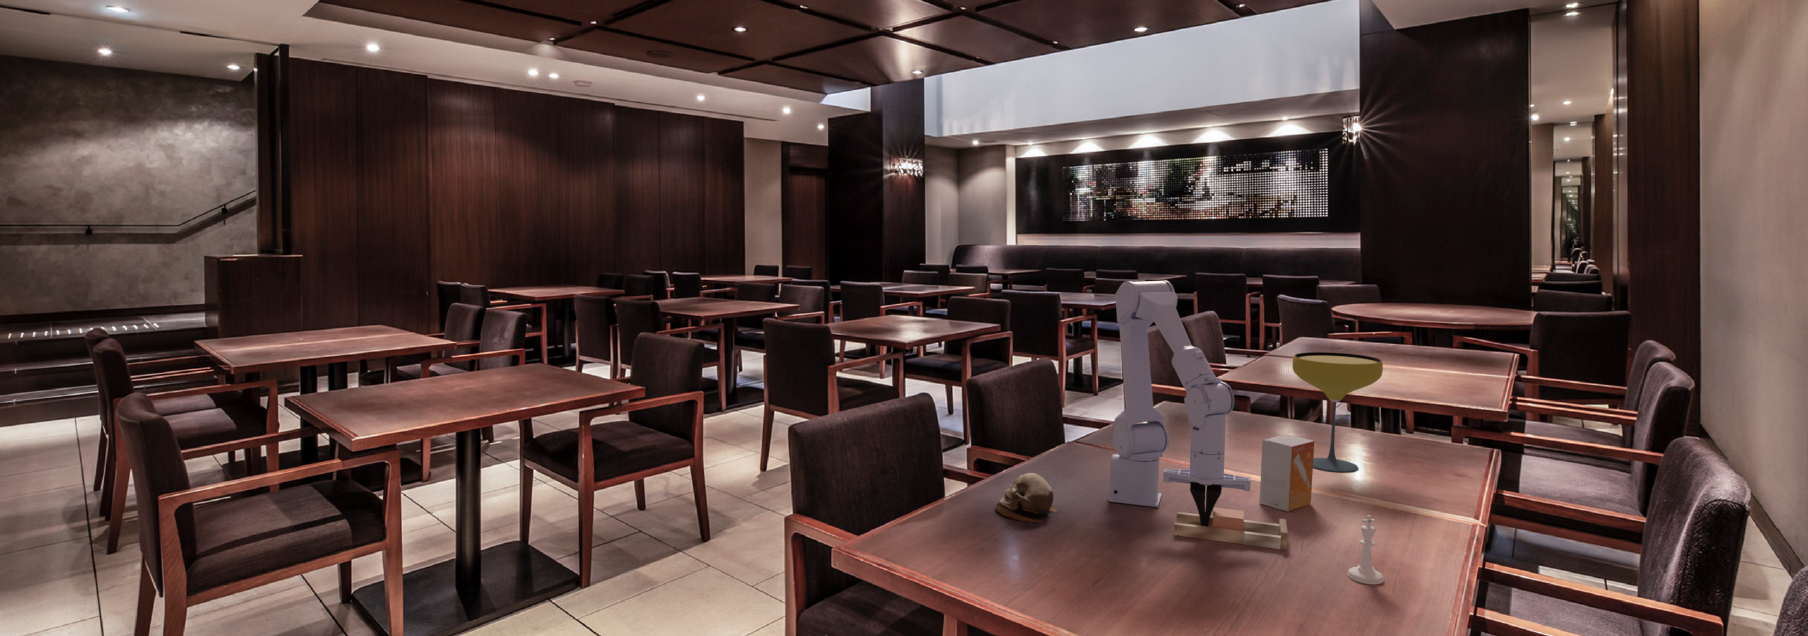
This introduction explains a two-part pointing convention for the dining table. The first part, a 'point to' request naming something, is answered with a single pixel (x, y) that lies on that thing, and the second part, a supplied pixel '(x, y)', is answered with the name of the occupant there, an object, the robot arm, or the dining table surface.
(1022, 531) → the dining table surface
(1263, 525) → the chute
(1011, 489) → the skull
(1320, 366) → the cocktail glass
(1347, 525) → the dining table surface
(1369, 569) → the chess piece
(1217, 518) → the block
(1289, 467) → the small box
